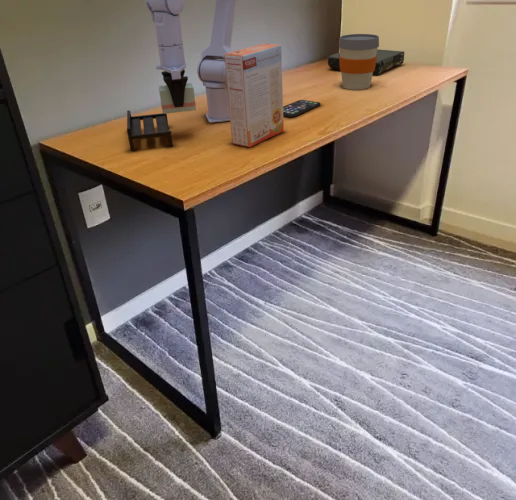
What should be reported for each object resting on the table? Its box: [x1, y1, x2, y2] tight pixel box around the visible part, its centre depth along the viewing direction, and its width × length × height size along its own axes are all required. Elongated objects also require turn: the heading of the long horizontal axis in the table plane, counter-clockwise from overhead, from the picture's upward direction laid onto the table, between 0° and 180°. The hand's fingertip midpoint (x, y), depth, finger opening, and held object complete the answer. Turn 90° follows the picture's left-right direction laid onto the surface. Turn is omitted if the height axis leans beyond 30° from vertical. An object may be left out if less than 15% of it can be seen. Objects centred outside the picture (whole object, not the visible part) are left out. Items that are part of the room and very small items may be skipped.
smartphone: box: [283, 99, 321, 118], centre depth 140 cm, size 7×1×15 cm
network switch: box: [327, 48, 405, 76], centre depth 182 cm, size 23×24×5 cm
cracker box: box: [224, 42, 285, 148], centre depth 116 cm, size 14×6×21 cm, turn 141°
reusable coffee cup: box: [338, 33, 380, 91], centre depth 157 cm, size 13×13×15 cm
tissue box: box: [158, 82, 197, 114], centre depth 119 cm, size 8×5×6 cm, turn 103°
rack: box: [126, 110, 174, 152], centre depth 123 cm, size 10×16×6 cm, turn 13°
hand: (177, 103), depth 120 cm, fingers closed on tissue box, 5 cm apart
